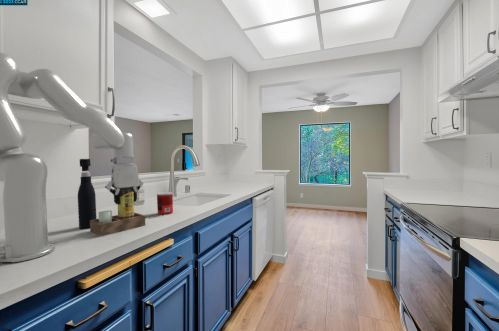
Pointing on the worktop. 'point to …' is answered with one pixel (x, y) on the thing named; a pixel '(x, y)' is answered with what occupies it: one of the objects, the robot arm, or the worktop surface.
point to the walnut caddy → (116, 224)
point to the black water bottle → (86, 197)
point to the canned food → (165, 203)
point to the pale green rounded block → (105, 217)
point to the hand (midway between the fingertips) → (126, 202)
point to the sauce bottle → (126, 203)
